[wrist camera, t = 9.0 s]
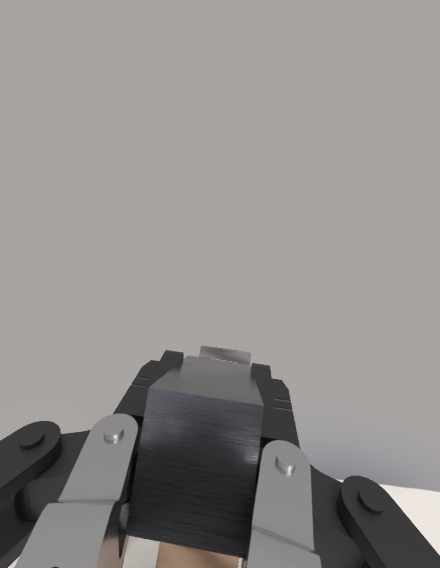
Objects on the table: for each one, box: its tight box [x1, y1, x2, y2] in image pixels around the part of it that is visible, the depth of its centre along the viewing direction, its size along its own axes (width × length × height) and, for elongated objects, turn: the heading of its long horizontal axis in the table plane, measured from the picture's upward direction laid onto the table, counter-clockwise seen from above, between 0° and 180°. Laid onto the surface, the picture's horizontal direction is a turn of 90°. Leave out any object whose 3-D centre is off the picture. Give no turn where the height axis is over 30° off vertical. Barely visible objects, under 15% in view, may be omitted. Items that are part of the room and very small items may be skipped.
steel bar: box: [125, 356, 264, 558], centre depth 16 cm, size 3×18×4 cm, turn 178°
